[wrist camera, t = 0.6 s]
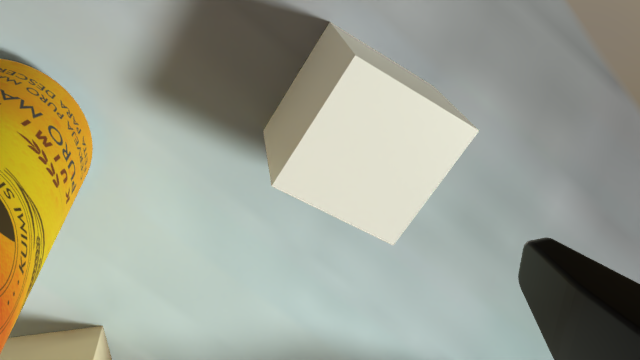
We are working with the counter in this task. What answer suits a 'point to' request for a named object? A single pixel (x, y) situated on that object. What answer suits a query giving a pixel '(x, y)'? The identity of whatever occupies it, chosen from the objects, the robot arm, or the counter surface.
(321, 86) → the cream plastic block
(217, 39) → the counter surface
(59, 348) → the birch block
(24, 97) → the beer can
